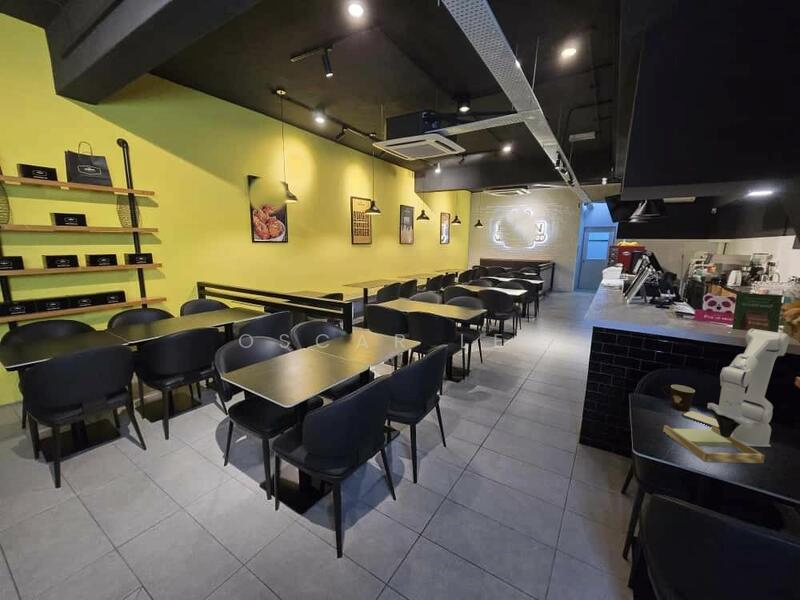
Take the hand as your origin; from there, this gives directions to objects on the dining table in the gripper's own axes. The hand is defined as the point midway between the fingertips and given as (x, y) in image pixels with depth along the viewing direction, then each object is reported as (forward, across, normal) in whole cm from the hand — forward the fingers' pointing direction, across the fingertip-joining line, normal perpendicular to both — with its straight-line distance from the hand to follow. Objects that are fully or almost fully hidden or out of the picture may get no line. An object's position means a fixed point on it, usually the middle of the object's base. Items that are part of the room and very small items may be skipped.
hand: (725, 436), depth 117 cm
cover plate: (+8, -10, 0) cm, 12 cm away
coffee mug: (+7, -38, +14) cm, 41 cm away
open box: (+7, -5, 0) cm, 9 cm away
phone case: (+8, -24, +16) cm, 30 cm away
